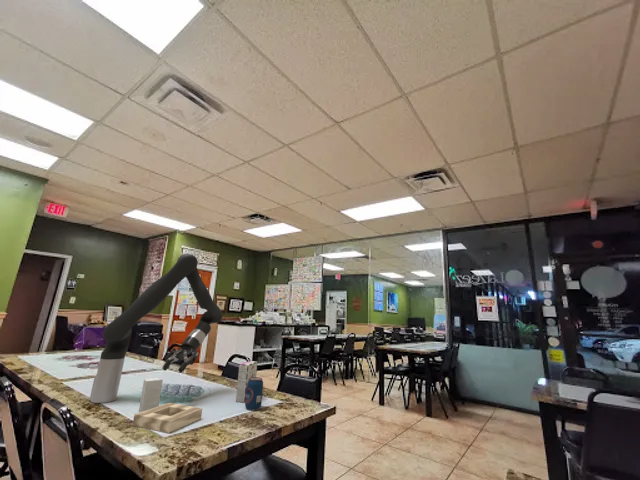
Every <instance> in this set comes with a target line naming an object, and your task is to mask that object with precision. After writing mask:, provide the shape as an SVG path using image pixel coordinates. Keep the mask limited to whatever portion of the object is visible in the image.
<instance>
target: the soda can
mask: <svg viewBox="0 0 640 480" xmlns="http://www.w3.org/2000/svg"><path fill="white" fill-rule="evenodd" d="M263 390H264V381H263V377H260V376H259V377H258V376H256V377H251V378H249V381H248V383H247V392H246V401H245V403H244V406H245V408H246V410H247V411H258V410H260V408H261V407H262V404H263V403H262V402H263V401H262V400H263V392H264V391H263Z"/></svg>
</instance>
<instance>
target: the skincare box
mask: <svg viewBox="0 0 640 480" xmlns="http://www.w3.org/2000/svg"><path fill="white" fill-rule="evenodd" d="M162 386H163V379H162V378H161V377H156V378H155V377H154V378H145V379H143V384H142V391H141V395H140V401H139V408H138V413H139V412H143V411H146V410H149V409H152V408H155V407H158V406H160V401H161V400H160V398H161V393H162Z"/></svg>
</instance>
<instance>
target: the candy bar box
mask: <svg viewBox="0 0 640 480" xmlns="http://www.w3.org/2000/svg"><path fill="white" fill-rule="evenodd" d="M257 371H258V361H255V360H254V361H252V360H249V361H246V362H243V363H240V364H239V365H238V372H237V373H238V374H237V375H238V377H237V387H236V394H235V395H236V396H235V403H242V404H245V401H246V392H247V383H248V381H249V378H251V377H257Z"/></svg>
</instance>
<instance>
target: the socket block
mask: <svg viewBox="0 0 640 480" xmlns="http://www.w3.org/2000/svg"><path fill="white" fill-rule="evenodd" d="M202 413H203V408H201V407H196V406H189V405H185V404H180V403H175V402H167V403H164V404H161V405H159V406H158V407H155V408H152V409H149V410H146V411H143V412H140V413H139V412H137V413H135V414H134V415H133V420H132V424H131V425H132V426H133V427H137V428H141V427H143V428H142V429H146V428H147V430H151V429H152V431H155V430H158V431H157V432H160V431H163V432H162V433H165V432H166V433H165V434H171V433H173V432H175V431H177V430H179V429H182V428H183V426H184V427H186V426H187V425H190V424H192V422H193V423H194V422H197V421H199V420H201V419H202ZM181 427H182V428H181ZM170 432H171V433H170Z"/></svg>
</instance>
